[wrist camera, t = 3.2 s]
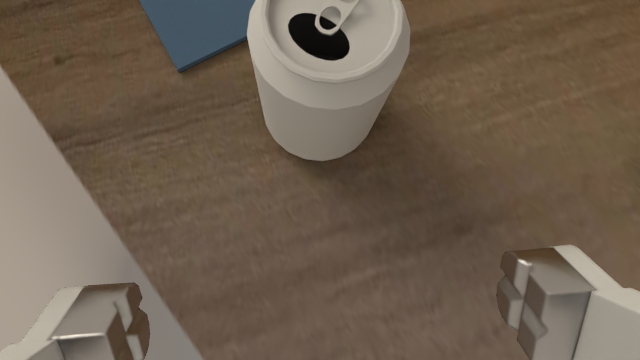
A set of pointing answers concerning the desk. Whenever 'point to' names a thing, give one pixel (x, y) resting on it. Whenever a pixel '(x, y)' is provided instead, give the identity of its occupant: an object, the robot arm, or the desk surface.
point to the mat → (198, 27)
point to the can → (325, 69)
